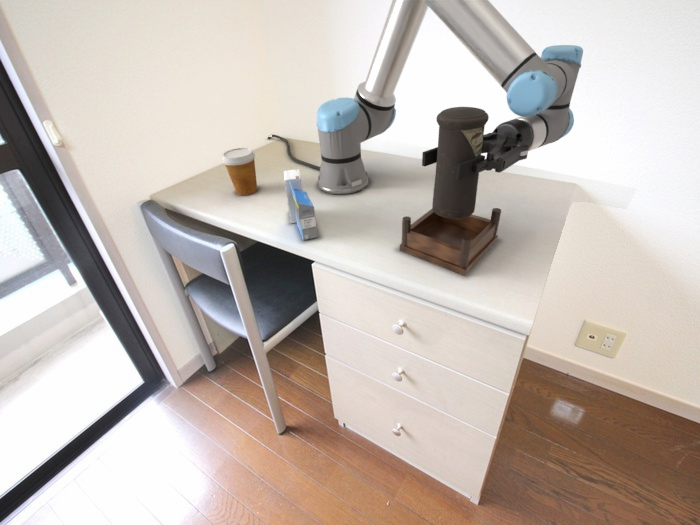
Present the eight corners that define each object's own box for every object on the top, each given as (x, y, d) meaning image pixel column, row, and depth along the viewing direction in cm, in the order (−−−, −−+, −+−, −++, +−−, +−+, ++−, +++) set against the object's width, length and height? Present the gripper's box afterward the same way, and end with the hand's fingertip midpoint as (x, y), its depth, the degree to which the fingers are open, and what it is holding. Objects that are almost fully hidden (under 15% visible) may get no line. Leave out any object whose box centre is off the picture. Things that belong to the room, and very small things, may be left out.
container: (476, 220, 73) (492, 115, 61) (430, 219, 74) (436, 116, 63) (473, 201, 79) (487, 102, 68) (431, 200, 81) (437, 103, 70)
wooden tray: (399, 250, 82) (399, 219, 77) (435, 221, 91) (437, 191, 86) (464, 276, 73) (469, 242, 69) (497, 241, 82) (503, 209, 78)
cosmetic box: (289, 212, 100) (282, 170, 93) (306, 210, 100) (299, 168, 93) (290, 224, 95) (282, 180, 88) (307, 221, 95) (301, 177, 88)
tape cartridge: (318, 237, 88) (312, 190, 81) (302, 241, 88) (294, 193, 80) (311, 220, 95) (304, 175, 88) (296, 223, 95) (288, 178, 87)
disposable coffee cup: (267, 184, 116) (259, 147, 109) (254, 198, 108) (245, 159, 101) (239, 183, 118) (230, 146, 111) (225, 197, 110) (214, 158, 103)
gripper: (559, 167, 73) (482, 202, 63) (475, 143, 87) (402, 169, 78) (570, 129, 69) (489, 160, 59) (480, 110, 83) (403, 133, 73)
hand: (440, 165), depth 68 cm, fingers closed on container, 8 cm apart
